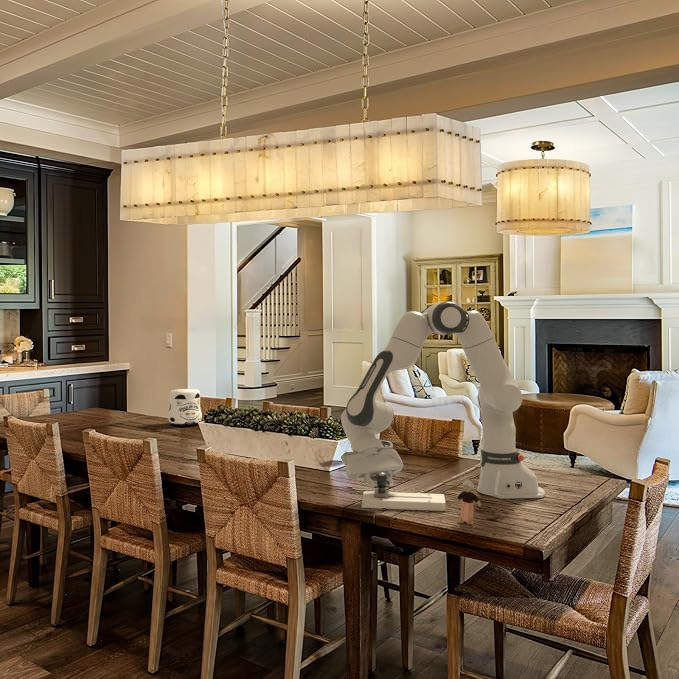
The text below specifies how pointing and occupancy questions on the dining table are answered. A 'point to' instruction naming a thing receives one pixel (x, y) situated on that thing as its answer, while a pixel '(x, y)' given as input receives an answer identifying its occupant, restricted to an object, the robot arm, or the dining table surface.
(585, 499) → the dining table surface
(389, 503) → the fader console
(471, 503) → the grandmother figurine
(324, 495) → the dining table surface
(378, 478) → the fader
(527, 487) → the robot arm
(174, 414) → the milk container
